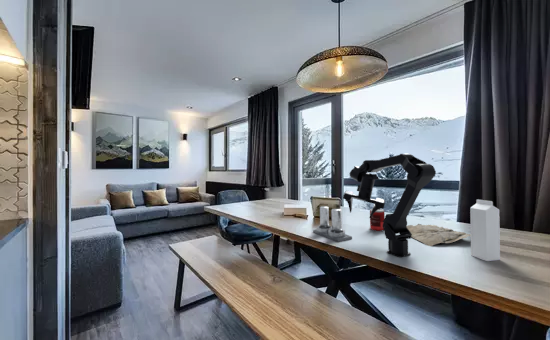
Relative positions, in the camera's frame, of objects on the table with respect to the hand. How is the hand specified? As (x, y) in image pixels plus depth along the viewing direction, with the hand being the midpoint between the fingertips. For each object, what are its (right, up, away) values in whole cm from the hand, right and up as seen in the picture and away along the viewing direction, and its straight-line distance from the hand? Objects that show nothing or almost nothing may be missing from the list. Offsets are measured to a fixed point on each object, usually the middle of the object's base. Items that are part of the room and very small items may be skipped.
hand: (360, 214), depth 116 cm
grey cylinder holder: (-13, -12, +7) cm, 19 cm away
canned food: (+16, -11, +17) cm, 26 cm away
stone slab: (+37, -12, +3) cm, 39 cm away
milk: (+38, -11, -27) cm, 48 cm away
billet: (-11, -11, +3) cm, 16 cm away
